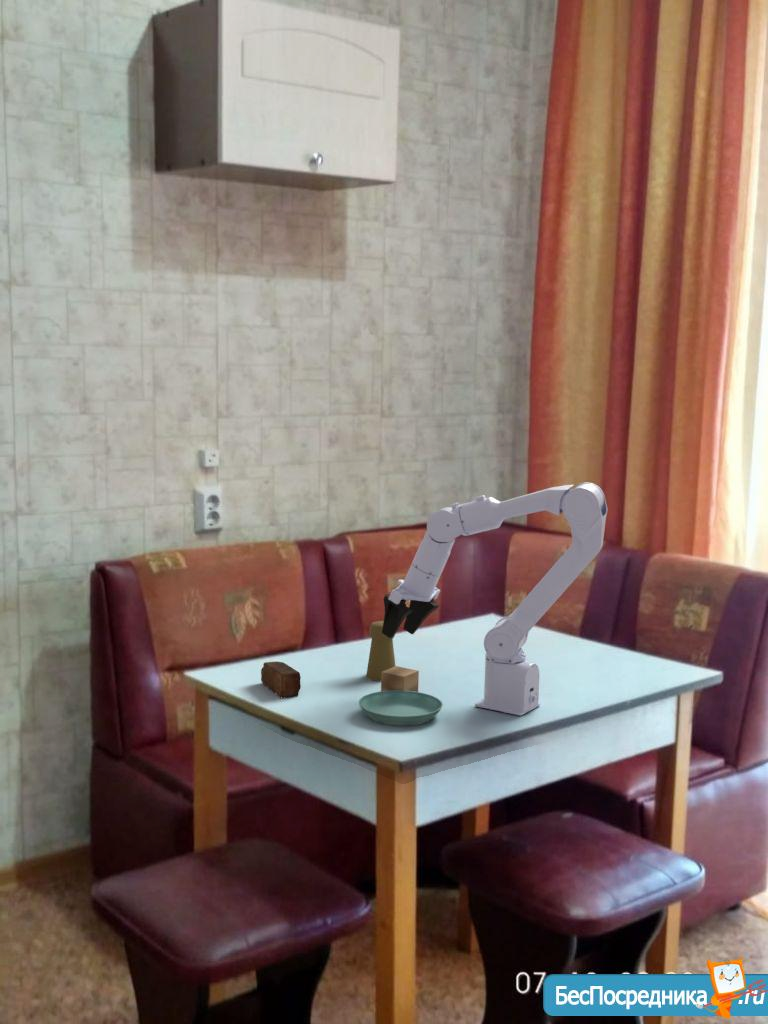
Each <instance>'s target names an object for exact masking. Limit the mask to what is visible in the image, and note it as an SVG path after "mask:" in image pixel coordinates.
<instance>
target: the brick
mask: <svg viewBox="0 0 768 1024" xmlns="http://www.w3.org/2000/svg"><path fill="white" fill-rule="evenodd" d="M260 674H261V675H260V676H261V677H260V681H261V683H262V684H263V685H264V686H265V687H266V688H267V687H268V688H269V689H268V688H267V689H268V690H270V691H271V690H272V691H273V692H272V691H271V692H272V693H273V694H275V693H276V694H277V695H276V694H275V695H276V696H278V697H279V696H280V697H279V698H281V697H282V698H281V699H285V698H284V697H287V698H294V697H293V696H295V697H298V696H299V694H300V693H299V692H300V689H301V687H302V686H301V673H300V671H298V670H296V668H295V669H294V668H293V667H292V666H290V665H288V664H287V663H285V662H282V661H266V662H263V665H262V667H261V669H260Z"/></svg>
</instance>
